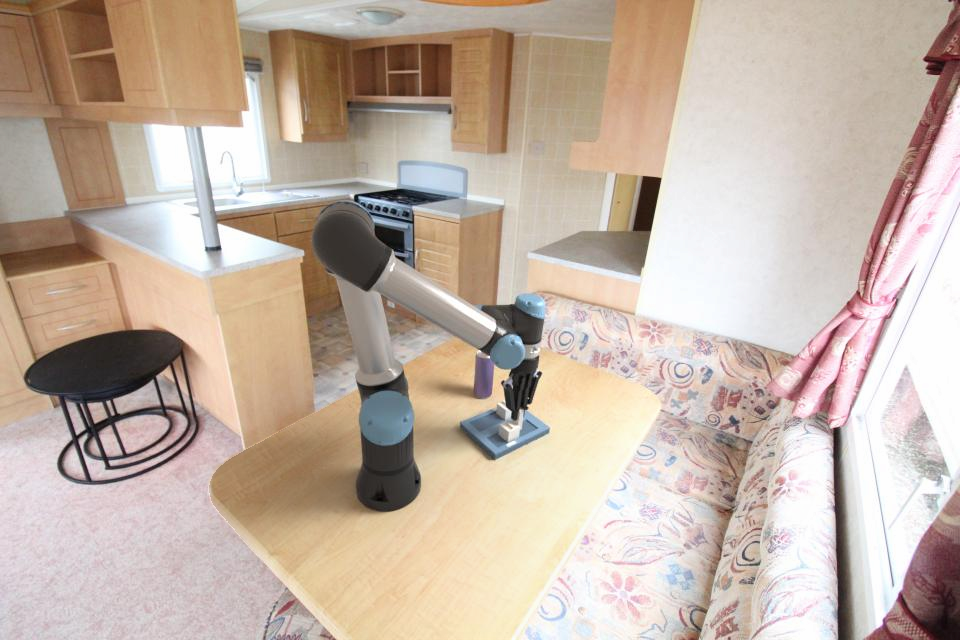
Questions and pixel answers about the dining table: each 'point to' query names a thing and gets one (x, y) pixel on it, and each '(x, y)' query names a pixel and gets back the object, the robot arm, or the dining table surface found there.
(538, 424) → the switch bank
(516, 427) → the tab near
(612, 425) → the dining table surface
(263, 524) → the dining table surface
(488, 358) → the beverage can
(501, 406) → the tab far
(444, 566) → the dining table surface
